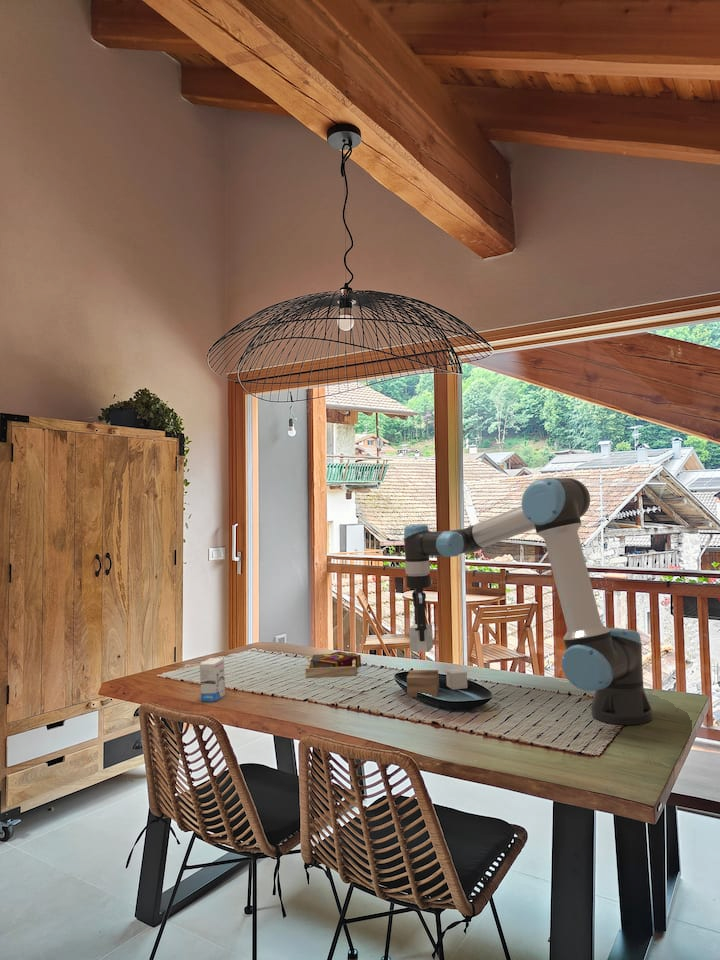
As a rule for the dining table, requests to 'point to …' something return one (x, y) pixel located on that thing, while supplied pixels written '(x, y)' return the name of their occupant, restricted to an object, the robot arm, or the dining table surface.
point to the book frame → (329, 669)
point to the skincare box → (414, 638)
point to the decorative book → (336, 660)
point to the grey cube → (456, 679)
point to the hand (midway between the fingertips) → (421, 648)
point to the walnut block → (422, 682)
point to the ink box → (212, 679)
